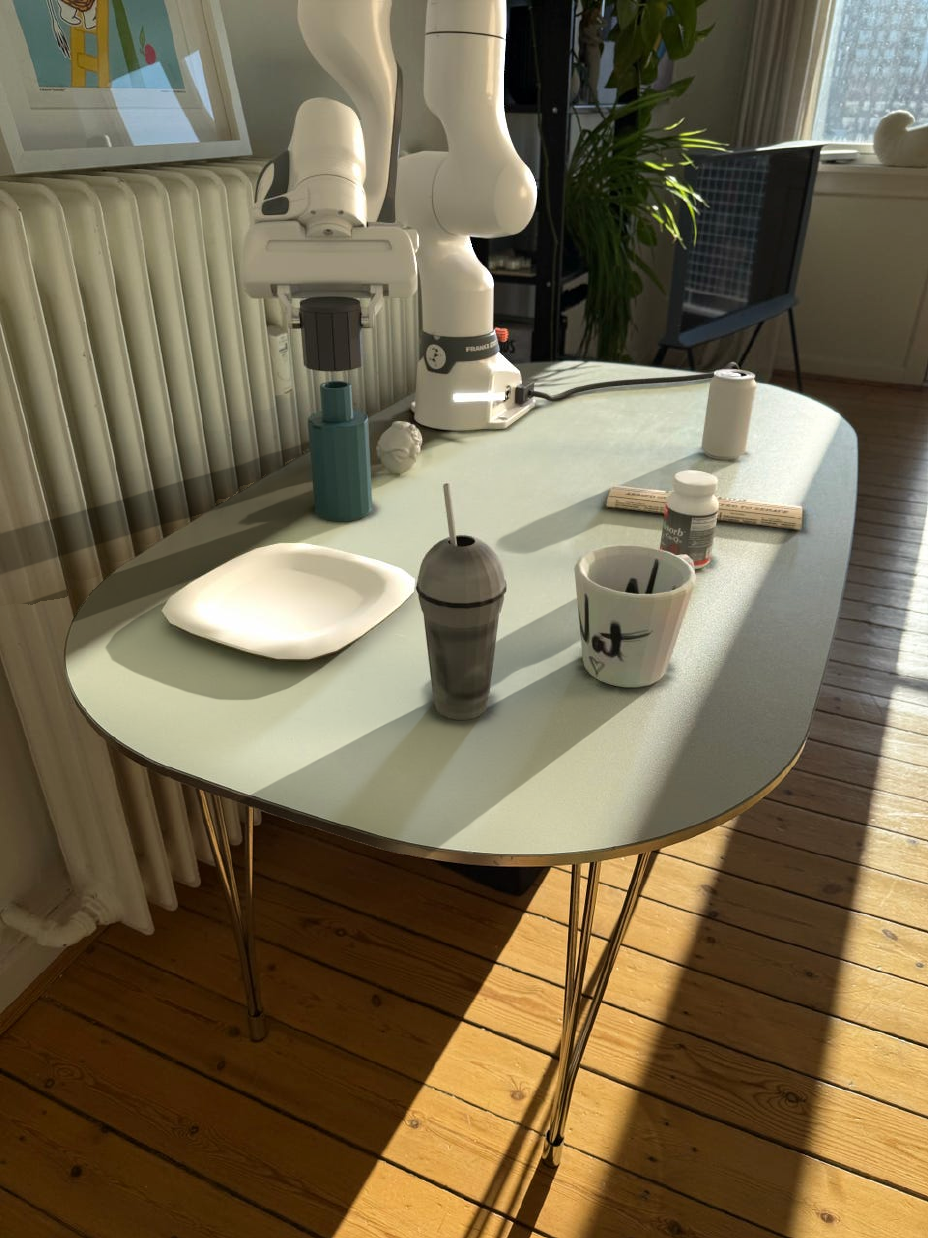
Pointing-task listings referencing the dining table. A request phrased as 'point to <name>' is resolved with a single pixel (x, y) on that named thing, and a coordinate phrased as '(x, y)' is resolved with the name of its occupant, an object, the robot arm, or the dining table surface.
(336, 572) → the plate
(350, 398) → the flask
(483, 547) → the beverage cup
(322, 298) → the flask lid
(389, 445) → the cream lumpy ball
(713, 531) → the pill bottle
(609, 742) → the dining table surface
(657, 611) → the mug
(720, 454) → the beverage can
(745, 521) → the newspaper
